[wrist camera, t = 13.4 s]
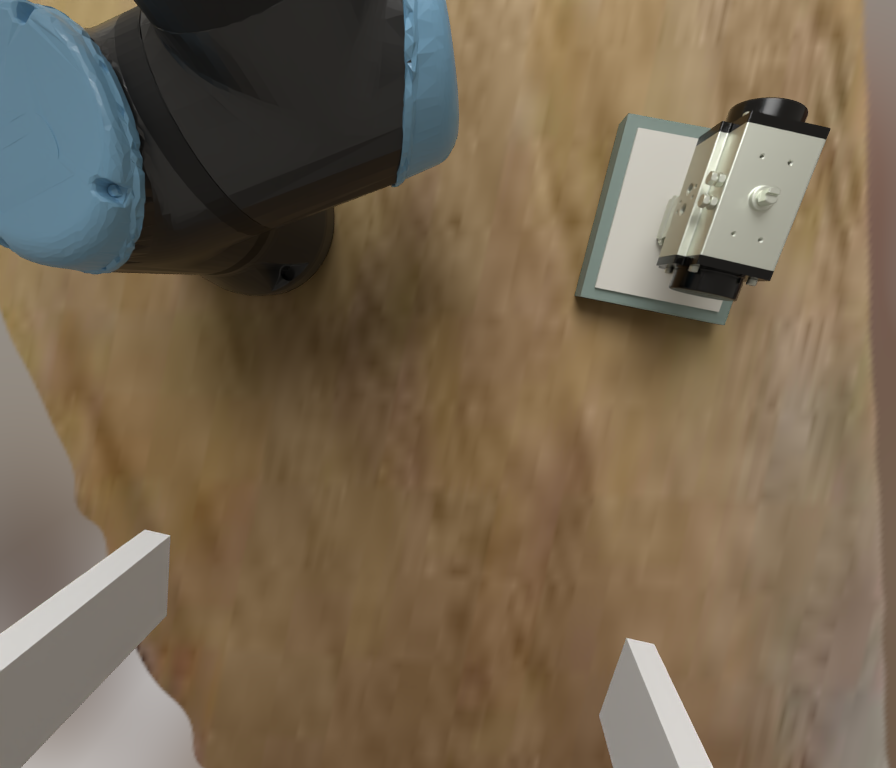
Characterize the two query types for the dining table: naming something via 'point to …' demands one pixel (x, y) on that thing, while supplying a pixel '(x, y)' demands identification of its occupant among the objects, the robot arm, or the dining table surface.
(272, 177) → the robot arm
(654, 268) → the stand
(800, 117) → the pneumatic valve
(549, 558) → the dining table surface
